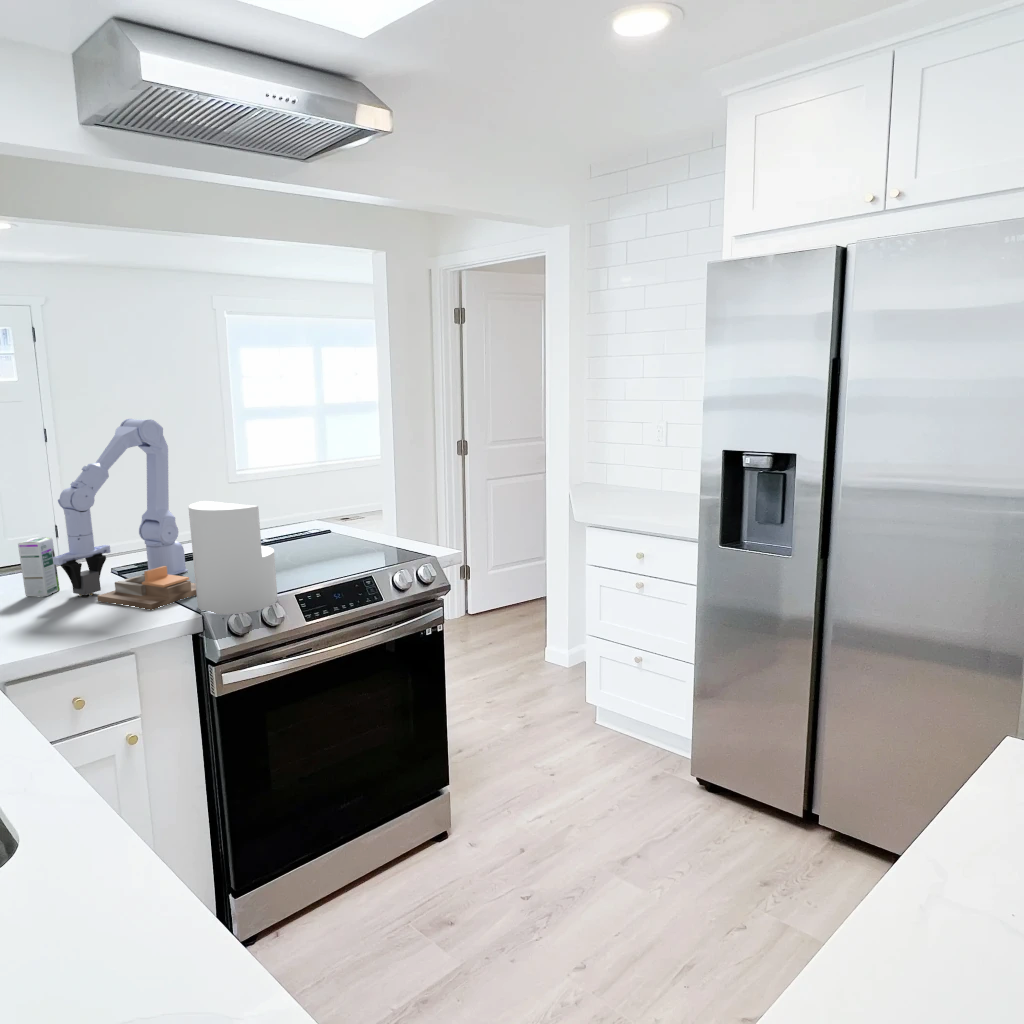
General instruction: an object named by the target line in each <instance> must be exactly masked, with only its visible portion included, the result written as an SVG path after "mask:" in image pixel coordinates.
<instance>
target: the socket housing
mask: <svg viewBox="0 0 1024 1024" xmlns="http://www.w3.org/2000/svg"><path fill="white" fill-rule="evenodd" d="M144 581H145V575H144V573H142V574H138V575H135V576H132V577H128V578H125V579H121V580H117V581H115V582H114V589H115V590H113V591H108V592H106V593H102V594H98V595H97V602H99V601H101V602H100V603H105V602H108V603H107V604H111V603H116V604H115V605H117V604H123V605H129V606H135V607H139V608H138V609H141V608H145V609H144V610H147V609H150V610H149V611H153V610H152V609H154V610H156V609H155V608H157V609H159V608H158V607H160V606H163V605H166V606H168V605H167V604H169V605H171V604H170V603H172V604H174V603H173V602H175V601H178V600H180V599H184V598H187V597H189V598H192V597H195V596H197V594H196V583H195V582H191V580H186V581H183V582H180V583H177V584H173V585H170V586H167V587H164V588H163V587H156V586H149V585H142V582H144ZM194 595H195V596H194ZM191 596H192V597H191ZM187 599H188V598H187ZM184 600H185V599H184ZM178 602H179V601H178ZM175 603H176V602H175ZM123 605H122V606H123ZM129 606H128V607H129ZM135 607H134V608H135ZM163 607H164V606H163ZM160 608H161V607H160Z"/></svg>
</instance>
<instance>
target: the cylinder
mask: <svg viewBox="0 0 1024 1024" xmlns="http://www.w3.org/2000/svg"><path fill="white" fill-rule="evenodd" d="M187 509H188V516H189V517H188V518H189V529H190V539H191V540H190V541H191V549H192V551H191V552H192V558H193V561H192V562H193V569H194V570H193V571H194V581H195V582H194V583H196V594H197V595H196V602H197V609H198V608H199V609H201V610H206V611H211V612H214V613H216V614H215V615H237V614H246V613H251V612H256V611H260V610H263V609H265V608H269V607H271V606H273V605H274V604H276V603H277V602H278V600H277V597H278V584H277V583H278V582H277V572H276V571H277V570H276V560H275V559H276V558H275V549H274V548H272V547H270V546H267V545H262V539H261V526H260V512H259V511H260V510H259V505H252V504H240V503H230V502H221V501H211V500H200V501H197V502H193V503H191V504H189V505H188V508H187ZM199 609H198V610H199Z"/></svg>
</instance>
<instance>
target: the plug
mask: <svg viewBox="0 0 1024 1024" xmlns="http://www.w3.org/2000/svg"><path fill="white" fill-rule="evenodd" d="M71 585H72V584H71ZM100 591H102V590H101V579H99V572H96V571H89V569H86V570H83V571H81V589H75V588H73V585H72V593H73V594H76V595H78V596H79V597H82V596H87V595H92V596H93V593H97V592H100ZM81 595H82V596H81Z"/></svg>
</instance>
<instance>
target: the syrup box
mask: <svg viewBox="0 0 1024 1024" xmlns="http://www.w3.org/2000/svg"><path fill="white" fill-rule="evenodd" d="M17 547H18V554H19V562H20V567H21V574H22V575H21V576H22V579H23V587H24V593H25V594H24V595H25V597H27V596H47V597H49V596H51V595H53V594H54V593H57V592H59V591H60V583H59V575H58V569H57V567H58V566H57V565H54V561H53V557H56V554H55V547H54V540H53V537H46V536H45V537H34V538H33V537H31V538H29V539H28V540H24V541H21V542H18V543H17ZM52 593H53V594H52Z"/></svg>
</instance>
